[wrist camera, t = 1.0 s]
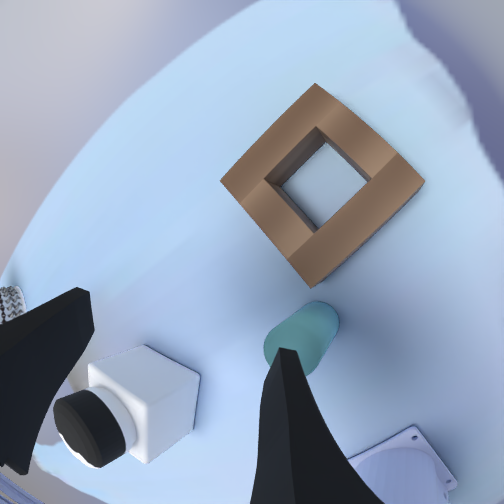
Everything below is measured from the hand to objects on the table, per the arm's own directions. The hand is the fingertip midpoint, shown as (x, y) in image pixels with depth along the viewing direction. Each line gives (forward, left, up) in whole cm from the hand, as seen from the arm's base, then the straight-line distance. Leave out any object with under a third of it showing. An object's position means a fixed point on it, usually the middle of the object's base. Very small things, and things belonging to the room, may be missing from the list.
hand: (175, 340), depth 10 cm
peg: (-3, -1, -12) cm, 12 cm away
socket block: (+3, -7, -12) cm, 14 cm away
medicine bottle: (0, +15, -12) cm, 20 cm away
